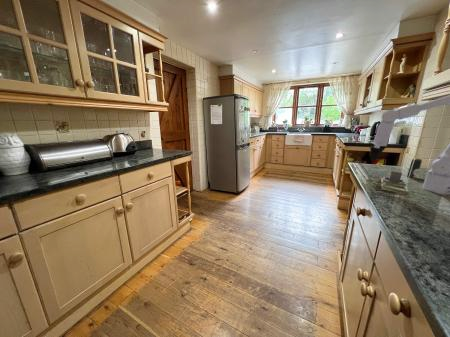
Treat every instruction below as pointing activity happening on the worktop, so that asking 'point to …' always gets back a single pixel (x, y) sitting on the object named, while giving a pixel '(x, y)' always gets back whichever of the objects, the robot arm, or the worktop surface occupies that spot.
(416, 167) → the battery charger
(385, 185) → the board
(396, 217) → the worktop surface
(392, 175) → the plug
